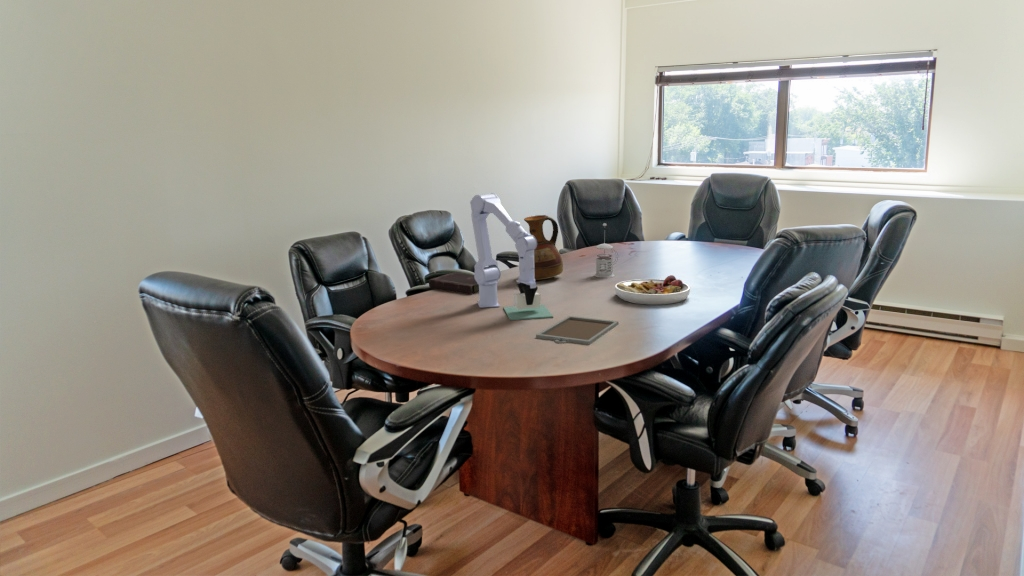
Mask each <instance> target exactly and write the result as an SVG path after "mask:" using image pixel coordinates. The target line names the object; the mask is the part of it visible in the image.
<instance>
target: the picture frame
mask: <svg viewBox="0 0 1024 576" xmlns="http://www.w3.org/2000/svg"><path fill="white" fill-rule="evenodd" d="M618 325H619V321H618V320H611V319H603V318H593V317H584V316H574V315H567V316H566V317H565V318H562V319H561V320H559V321H557V322H555V323H553V325H550V326H548V327H547V328H544V330H542V331H540V332H538V333H536V335H535V338H536V339H542V340H543V339H544V340H548V339H549V340H550V341H553V340H554V342H555V344H559V343H563V344H570V343H571V342H573V343H574V344H581V345H586V344H587V346H589V345H591V344H592V343H594V342H596V341H597V340H598V339H599V338H601V337H602V335H603V336H604V335H606V334H607V333H608V332H610V331H611V330H612V329H614V328H615V327H616V326H618ZM549 340H548V341H549ZM568 342H569V343H568ZM573 343H572V344H573Z"/></svg>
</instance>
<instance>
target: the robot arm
mask: <svg viewBox="0 0 1024 576" xmlns="http://www.w3.org/2000/svg"><path fill="white" fill-rule="evenodd" d="M501 202H502V201H501V198H499V196H498V195H497V193H494V192H493V193H492V192H491V193H486V194H475V195H474V196H473V197H472V198H471V200H470V202H469V204H470V208H471V221H472V229H473V235H474V239H475V246H476V252H477V258H478V261H477V262H476V263H475V264H474V266H473V267H474V272H473V273H474V274H473V275H474V277H475V280H476V282H477V283H478V284H479V292H478V296H479V297H478V298H479V299H478V301H477V302H476V303H477V305H478V308H481V309H482V308H495V307H496V308H497V307H498V308H499V307H500V303H499V302H498V283H499V280H500V279H501V276H502V271H501V269H500V267H499V263H498V261H496V259H494V257H493V253H492V247H491V241H490V235H489V229H488V223H487V218H488V216H489V215H490V214H493V215H494V216H495V217H496V218H497V219H498V220H499V221H500V222H501V223H502V224H503V226H505V232H506V233H507V234H508V236H509V237H510V238H511V239H512V241H513V242H514V246H515V250H516V251H517V255H518V272H519V274H518V276H517V277H518V279H516V287H517V288H518V291H519V294H520V293H525V298H526V304H527V305H532V304H533V300H534V296H535V293H536V292H537V291H538V288H539V287H538V286H537V283H536V280H535V275H534V250H535V249H536V247H537V240H536V238H535V236H533V235H531V234H530V233H528V231H526V229H524V227H523V226H522V225H521V222H520V221H516V220H513V219H512V218H511V216H510V215H509V213H508V212H507V210H506V208H504V206H503V205H502V203H501Z"/></svg>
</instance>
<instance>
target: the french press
mask: <svg viewBox="0 0 1024 576" xmlns="http://www.w3.org/2000/svg"><path fill="white" fill-rule="evenodd" d="M602 226H603V227H606V226H608V225H607V223H605V222H604V223H603V224H602ZM603 234H604V241H603V243H600V244H598V245H596V246H595V249H597V250H604V253H601V254H596V257H597V258H596V259H595V261H596V262H595V264H596V268H595V269H596V270H595V271H596V272H595V274H594V275H593V276H594V277H597V278H604V279H605V278H606V279H607V278H613V277H615V276H616V275H615V274H614V270H613V269H614V268H613V267H614V265H615V264H616V263H617V262H618V260H619V254H618V252H617V250H616V249H613V248H614V246H612V245H611V244H609V243H605V242H606V238H605V237H606V231H604V233H603ZM606 250H610V251H611V253H613V252H614V253H615V260H614V257H613V255H612V254H609V253H608V254H607V253H606ZM612 257H613V258H612ZM613 260H614V261H613Z"/></svg>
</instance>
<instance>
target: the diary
mask: <svg viewBox="0 0 1024 576" xmlns="http://www.w3.org/2000/svg"><path fill="white" fill-rule="evenodd" d="M428 287H429V289H434V290H440V291H446V292H452V293H457V294H463V295H464V294H466V295H470V296H472V295H474V294H477V293H479V284H478V283H477V282H476V280H475V277H474V274H470V273H465V272H457V271H455V272H452V273H446V274H443V275H440V276H438V277H433V278H430V279H429V280H428Z"/></svg>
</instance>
